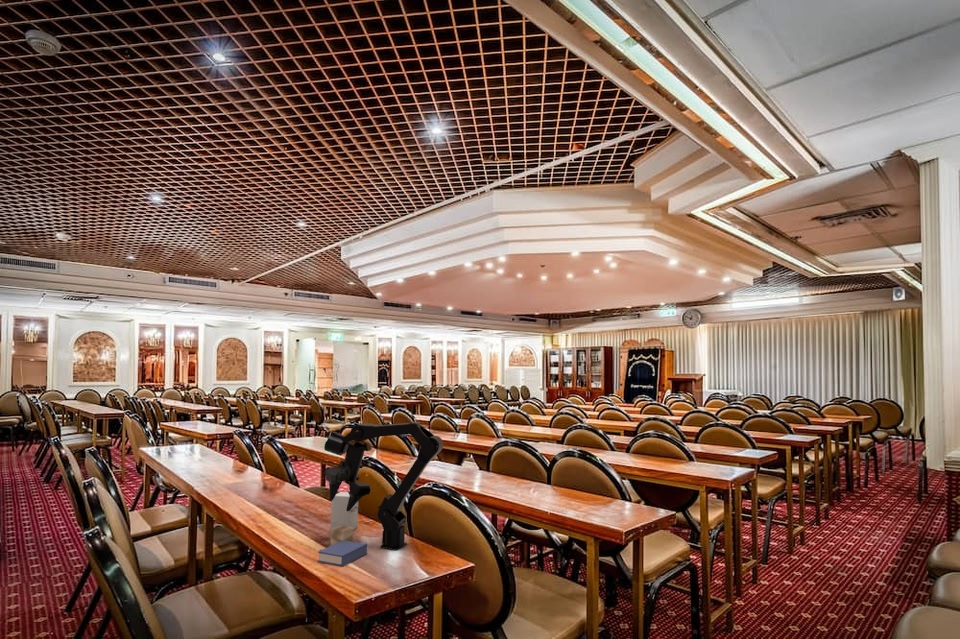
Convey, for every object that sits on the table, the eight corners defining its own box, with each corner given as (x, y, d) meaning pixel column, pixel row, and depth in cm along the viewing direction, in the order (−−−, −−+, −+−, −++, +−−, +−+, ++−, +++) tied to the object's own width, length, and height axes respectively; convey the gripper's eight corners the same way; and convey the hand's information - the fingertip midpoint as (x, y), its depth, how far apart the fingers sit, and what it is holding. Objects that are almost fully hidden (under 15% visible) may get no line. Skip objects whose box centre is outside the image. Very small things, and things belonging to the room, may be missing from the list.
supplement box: (348, 533, 181) (350, 496, 182) (329, 532, 182) (331, 495, 184) (357, 528, 188) (359, 492, 189) (339, 526, 189) (340, 491, 191)
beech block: (352, 542, 171) (353, 527, 172) (342, 547, 166) (343, 531, 167) (340, 540, 173) (340, 525, 174) (330, 545, 168) (331, 529, 169)
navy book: (366, 554, 160) (367, 544, 160) (342, 566, 149) (342, 555, 149) (343, 550, 163) (343, 540, 164) (317, 562, 152) (318, 551, 153)
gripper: (317, 450, 173) (303, 495, 172) (351, 470, 161) (337, 519, 160) (343, 451, 182) (330, 494, 180) (377, 469, 170) (363, 516, 169)
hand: (339, 505), depth 172 cm, fingers open, 9 cm apart
